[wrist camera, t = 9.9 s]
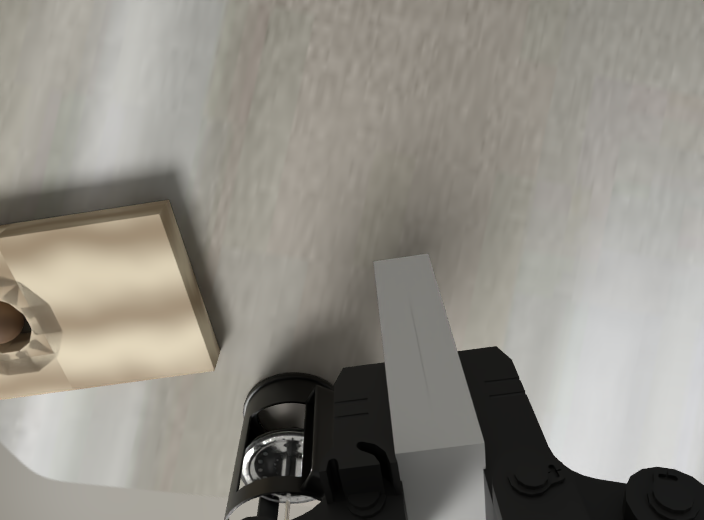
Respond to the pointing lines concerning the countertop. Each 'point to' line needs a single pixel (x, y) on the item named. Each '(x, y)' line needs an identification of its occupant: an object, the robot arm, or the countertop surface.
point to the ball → (9, 322)
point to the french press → (283, 446)
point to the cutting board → (101, 301)
